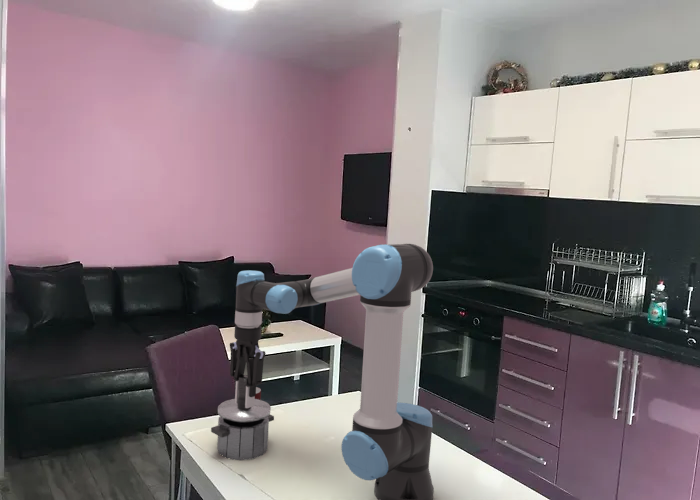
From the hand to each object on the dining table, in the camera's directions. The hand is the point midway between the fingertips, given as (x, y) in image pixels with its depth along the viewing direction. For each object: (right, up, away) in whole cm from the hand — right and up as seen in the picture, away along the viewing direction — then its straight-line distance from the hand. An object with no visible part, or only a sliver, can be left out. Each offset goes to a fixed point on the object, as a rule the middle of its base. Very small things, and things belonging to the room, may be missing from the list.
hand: (244, 404), depth 165 cm
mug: (-3, -11, +21) cm, 24 cm away
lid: (0, -4, 0) cm, 4 cm away
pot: (-1, -13, +1) cm, 13 cm away
